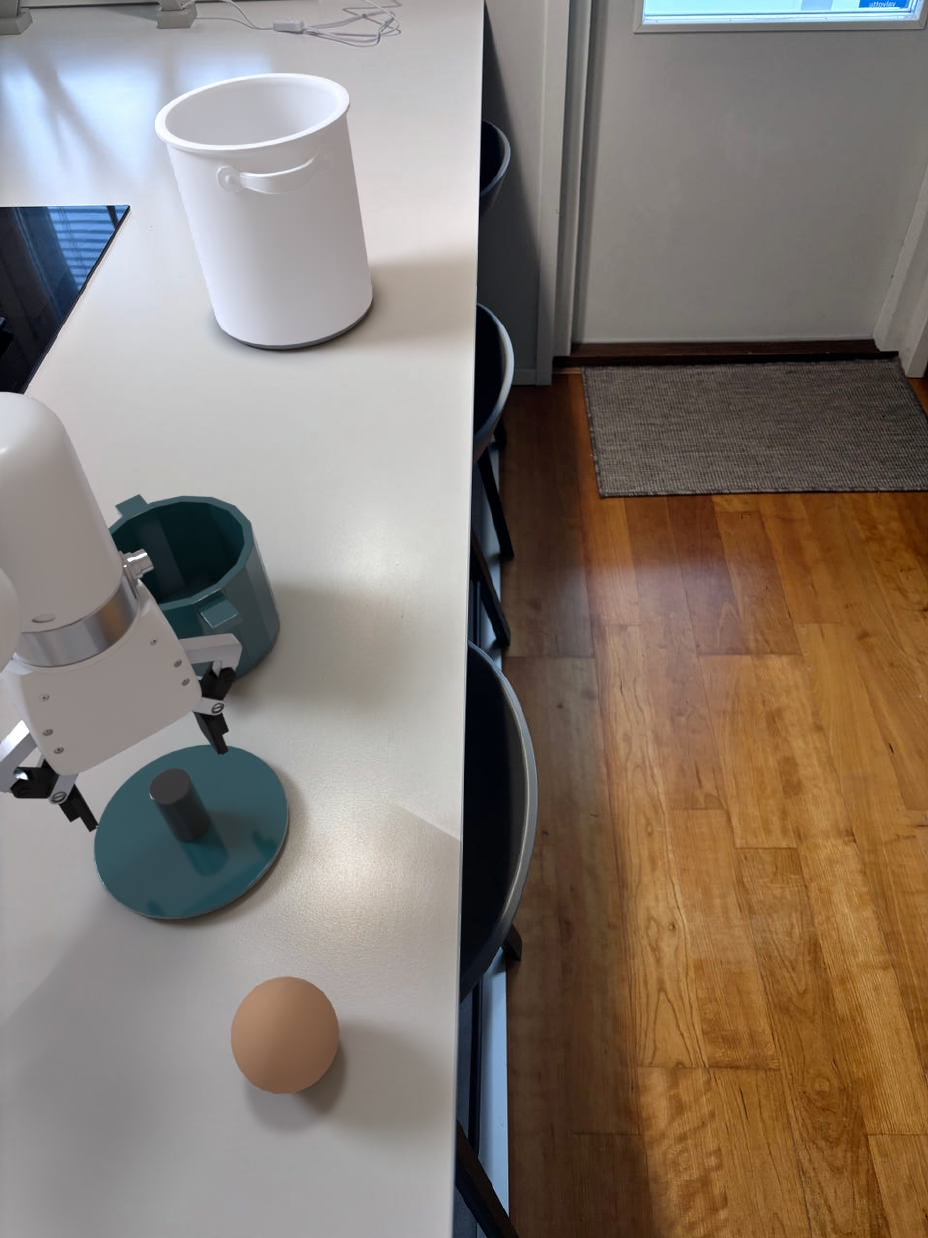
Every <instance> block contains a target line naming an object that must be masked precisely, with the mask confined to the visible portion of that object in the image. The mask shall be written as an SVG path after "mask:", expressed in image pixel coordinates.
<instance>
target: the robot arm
mask: <svg viewBox="0 0 928 1238" xmlns="http://www.w3.org/2000/svg"><path fill="white" fill-rule="evenodd" d="M108 528H109V527H108V525H107V522H106V521H105V518H104V515H103V513H102V511H101V509H100V506H99V503H98V502H97V499H96V497H95V494H94V492H93V489H92V487H91V485H90V482H89V480H88V477H87V475H86V473H85V470H84V468H83V466H82V462H81V460H80V458H79V456H78V454H77V451H76V448H75V446H74V444H73V441H72V439H71V437H70V435H69V432H68V431H67V429H66V427H65V424H64V423H63V421H62V419H60V416H58V415H57V413H56V412H55V411H54V410H53V409H52V408H50V407H49V405H47V404H46V403H44V402H42V401H40V400H39V399H37V398H35V397H34V396H33V397H32V396H30V395H26V394H22V393H16V392H11V391H10V392H9V391H0V681H1V683H2V685H3V687H4V689H5V692H6V693H7V695H8V697H9V700H11V703H12V705H13V707H14V708H15V710H16V712H17V714H18V716H19V718H20V720H21V721H20V722H18V723H17V725H16V726H15V727H14V728H13V729H12V730H11V731H10V732H9V733H8V734H7V735H6V736H5V738H3V739H2V741H1V742H0V792H1V793H4V794H7V793H8V794H12V795H13V797H14V798H15V799H20V800H21V799H23V800H27V799H28V800H29V799H30V800H48V802H49V803H50V804H51V805H54V806H56V805H58V807H59V808H60V810H61V811H62V812H63V814H64V816H65V817H66V818H67V820H68V821H69V823H73V822H74V821H76V820H77V819H79V818H80V820H81V821H82V823H83V825H84V826H85V827H86V829H87V830H88V832H89V833H92V832H94V831H95V830H97V826H98V825H99V821H98V820H97V819H96V817H95V815H94V814H93V811H92V810H91V808H90V807H89V805H88V803H87V801H86V799H85V798H84V796H83V795H82V792H81V791H80V789H79V788H78V786H77V784H76V782H77V779H78V776H79V774H81V773H83V772H86V771H88V770H90V769H92V768H94V767H96V766H98V765H100V764H102V763H104V762H106V761H107V760H109V759H111V758H113V757H116V756H117V755H119V754H120V753H123V752H124V751H127V749H130V748H131V747H133V746H135V745H137V744H138V743H140V742H142V741H144V740H146V739H147V738H149V737H151V736H153V735H155V734H156V733H158V732H160V731H162V730H163V729H165V728H166V727H167V728H168V727H169V726H170V725H172V724H174V723H176V722H177V721H179V720H181V719H182V718H184V717H185V716H187V715H188V714H189V713H191V712H192V713H193V714H194V717H195V720H196V722H197V725H198V728H199V730H200V731H201V733H202V734H203V736H204V737H205V738H206V740H207V741H208V743H209V744H211V745H212V747H213V748H214V750H215V751H216V752H217V754H218V755H220V754H221V755H223V754H225V753H227V752H228V748H227V746H228V745H227V743H226V741H225V738H224V735H226V734H227V733H229V732H230V729H229V726H228V724H227V721H226V718H225V715H224V714H223V712H224V711H225V709H226V706H227V704H226V702H225V701H224V700H225V698H226V697H227V695H228V693H229V691H230V690H231V688H232V687H233V684H234V683H235V681H237V680H236V677H237V674H236V672H235V669H236V666H238V663H239V659H240V655H241V651H242V645H241V644H240V642H239V641H238V640H237V639H236V638H235V636H234V635H233V634H231V633H228V634H219V635H211V636H203V637H195V638H187V639H179V640H178V638H177V636H176V634H175V633H174V631H173V629H172V627H171V626H170V624H169V623H168V621H167V619H166V618H165V616H164V614H163V613H162V611H161V610H160V608H159V606H158V605H157V603H156V601H155V599H154V597H153V596H152V595H151V593H150V592H149V590H148V589H147V588H146V587H145V585H144V584H143V583H142V582H141V581H140V579H139V578H141V577H143V574H145V573H147V572H149V571H151V570H153V569H154V568H153V565H152V562H151V560H150V558H149V557H148V555H147V553H146V552H145V551H144V549H141V550H139V551H137V552H135V553H132V554H131V553H130V552H129V553H127V554H125V555H124V554H123V553H122V552H121V551H119V552H118V551H117V548H116V546H115V544H114V541H113V539H112V536H111V534H110V532H109V529H108ZM210 661H212V662H211V663H210V665H209V667H208V669H207V670H206V672H205V674H204V675H203V677H201V676H196V674H195V672H194V670H193V668H192V666H191V664H196V663H203V662H210ZM36 748H37V749H38V750H39V753H41V754H40V757H39V759H38V761H37V764H36V766H20V765H21V764H22V763H23V762H24V761H25V760H26V758H28V756H30V754H32V752H33V751H34V750H35V749H36Z"/></svg>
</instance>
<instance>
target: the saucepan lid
mask: <svg viewBox="0 0 928 1238" xmlns="http://www.w3.org/2000/svg"><path fill="white" fill-rule="evenodd" d="M226 746H227V748H228V752H227V753H225V754H223V755H221V754H220V755H218V754H217V752H216V751H215V750H214V748H213V747H212V745H211V744H210V743H209V744H199V745H192V746H188V747H183V748H180V749H177V750H174V751H171V752H169V753H166V754H164V755H161V756H159V757H157V758H155V759H154V760H152V761H150V762H148V763H147V764H145V765H144V766H143V767H141V768H140V769H138V770H137V771H136V772H134V773H133V774H132V775H131V776H130V777H129V778H127V779H126V780H125V782H124V783H123V784H121V785H120V787H119V788H118V789H117V790H116V791H115V792H114V794H113V795H112V796H111V798H110V800H109V801H108V803H107V804H106V806H105V808H104V810H103V811H102V814H101V816H100V817H99V820H98V824H99V825H98V826H96V827H97V829H95V830H96V831H95V835H94V841H93V842H94V843H93V857H94V858H93V859H94V864H95V869H96V872H97V875H98V877H99V879H100V882H101V883H102V885H103V886H104V888H105V889H106V891H107V893H108V894H109V895H110V896H111V897H112V898H113V899H114V900H115V901H116V902H117V903H119V904H120V905H121V906H123V907H124V908H126V909H127V910H129V911H132V912H133V913H135V914H138V915H141V916H144V917H147V918H151V919H153V918H154V919H159V920H182V919H189V918H195V917H199V916H203V915H206V914H208V913H212V912H214V911H216V910H219V909H221V908H223V907H226V906H227V905H229V904H230V903H232V902H234V901H236V900H237V899H239V898H240V897H241V896H243V895H244V894H245V893H246V892H248V891H249V890H250V889H252V888H253V887H254V885H256V884H257V883H258V882H259V881H260V880H261V879H262V878H263V877H264V875H265V874H266V873H267V872H268V871H269V869H270V867H271V866H272V865H273V864H274V862H275V860H276V858H277V857H278V855H279V853H280V851H281V849H282V846H283V844H284V841H285V838H286V835H287V829H288V826H289V802H288V799H287V795H286V791H285V789H284V787H283V784H282V781H281V779H280V778H279V776H278V775H277V773H276V772H275V771H274V770H273V768H271V766H270V765H269V764H268V763H267V762H265V761H264V760H263V759H262V758H260V757H259V756H257V755H256V754H254V753H252V752H250V751H247V750H246V749H243V748H239V747H236V746H233V745H226Z"/></svg>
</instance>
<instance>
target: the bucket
mask: <svg viewBox="0 0 928 1238" xmlns="http://www.w3.org/2000/svg"><path fill="white" fill-rule="evenodd" d="M350 97H351V96H350V94H349V92H348V90H347V89H346V88H345V87H344V86H342V85H341V84H340V83H338V82H336V81H334V80H332V79H329V78H326V77H322V76H319V75H318V76H317V75H313V74H312V75H311V74H306V73H294V72H293V73H291V72H277V73H261V74H260V73H259V74H249V75H244V76H238V77H232V78H228V79H224V80H219V81H215V82H212V83H209V84H206V85H204V86H199V87H197V88H195V89H193V90H191V91H188V92H186V93H183V94H182V95H180V96H178V97H176V98H174V99H173V100H171V101H170V102H169V103H167V104H166V105H165V106H163V107H162V108H161V110H160V111H159V112H158V113H157V115H156V117H155V119H154V128H155V133H156V135H157V136H158V137H159V139H160V140H161V141H162V142H164V143H165V145H166V148H167V152H168V154H169V158H170V162H171V166H172V168H173V172H174V176H175V179H176V182H177V186H178V190H179V194H180V197H181V200H182V204H183V206H184V207H183V208H184V210H185V214H186V217H187V222H188V225H189V228H190V232H191V236H192V238H193V242H194V245H195V249H196V253H197V256H198V259H199V263H200V266H201V270H202V273H203V274H202V275H203V277H204V281H205V284H206V287H207V291H208V294H209V298H210V301H211V305H212V309H213V313H214V315H215V318H216V323H218V325H219V326H220V328H221V329H222V331H223V332H224V333H225V334H226V335H228V337H230V338H231V339H233V340H235V341H237V342H239V343H241V344H244V345H247V346H251V347H255V348H259V349H266V350H293V349H301V348H305V347H310V346H315V345H316V346H317V345H318V344H322V343H325V342H328V341H330V340H333V339H335V338H337V337H339V336H341V335H343V334H345V333H346V332H347V331H349V330H351V329H353V327H355V326H356V325H357V324H358V323H359V322H360V321H361V320H363V318H364V317H366V314H368V312H369V310H370V308H371V304H372V300H373V286H372V281H371V280H372V279H371V272H370V264H369V258H368V252H367V246H366V238H365V232H364V225H363V224H364V223H363V218H362V212H361V205H360V199H359V191H358V185H357V178H356V173H355V166H354V158H353V152H352V145H351V137H350V132H349V124H348V118H347V117H348V116H347V114H348V112H349V110H350V108H351V98H350Z"/></svg>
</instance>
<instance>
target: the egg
mask: <svg viewBox="0 0 928 1238" xmlns="http://www.w3.org/2000/svg"><path fill="white" fill-rule="evenodd" d="M339 1037H340V1027H339V1020H338V1016H337V1013H336V1010H335V1008H334V1006H333V1004H332V1002H331V1000H330V999H329V998H328V996H327V995H326V994H325V992H324V991H323V990H321V989H320V988H319V987H318V986H316V985H315V984H314V983H312V982H310V981H309V980H306V979H304V978H300V977H295V976H279V977H273V978H271V979H267V980H265V981H263V982H261V983H259V984H258V985H256V986H255V987H254V988H253V989H251V990H250V991H249V992H248V993H247V994H246V996H245V997H243V999H242V1001H241V1002H240V1004H239V1005H238V1007H237V1009H236V1012H235V1014H234V1016H233V1019H232V1023H231V1028H230V1045H231V1052H232V1055H233V1057H234V1061H235V1063H236V1066H237V1068H238V1070H239V1071H240V1072H241V1073H242V1075H243V1076H244V1077H245V1079H246V1080H248V1081H249V1082H250V1083H251V1084H252V1085H254V1086H255V1087H256V1088H258V1089H259V1090H261V1091H264V1092H268V1093H271V1094H275V1095H284V1094H285V1095H286V1094H288V1095H289V1094H295V1093H299V1092H301V1091H303V1090H305V1089H307V1088H309V1087H311V1086H312V1085H314V1084H315V1083H316V1082H318V1081H319V1080H320V1079H321V1078H322V1077H323V1076H324V1074H325V1073H326V1072H327V1071H328V1069H329V1068H330V1066H331V1065H332V1063H333V1061H334V1059H335V1056H336V1053H337V1050H338V1046H339Z"/></svg>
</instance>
